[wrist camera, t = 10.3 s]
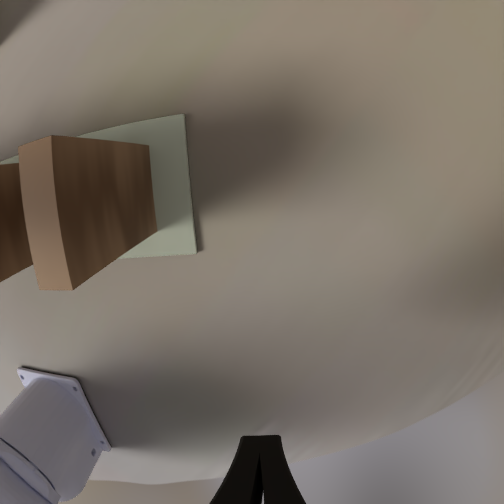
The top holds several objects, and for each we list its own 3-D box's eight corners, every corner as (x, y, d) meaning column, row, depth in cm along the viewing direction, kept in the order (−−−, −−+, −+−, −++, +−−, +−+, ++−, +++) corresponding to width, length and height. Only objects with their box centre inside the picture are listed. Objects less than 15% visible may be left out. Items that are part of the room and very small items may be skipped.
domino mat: (197, 252, 18) (196, 253, 18) (-44, 267, 20) (-46, 268, 19) (184, 114, 16) (183, 113, 16) (-57, 188, 17) (-59, 188, 17)
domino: (86, 237, 18) (-12, 288, 9) (68, 239, 18) (-30, 288, 9) (77, 159, 17) (-33, 168, 8) (58, 164, 17) (-49, 176, 8)
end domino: (157, 231, 18) (72, 290, 9) (132, 233, 18) (39, 290, 9) (149, 145, 16) (51, 135, 8) (124, 149, 16) (18, 146, 8)
